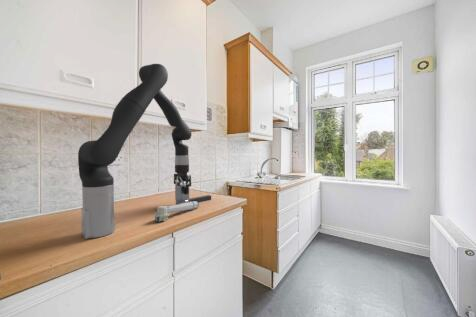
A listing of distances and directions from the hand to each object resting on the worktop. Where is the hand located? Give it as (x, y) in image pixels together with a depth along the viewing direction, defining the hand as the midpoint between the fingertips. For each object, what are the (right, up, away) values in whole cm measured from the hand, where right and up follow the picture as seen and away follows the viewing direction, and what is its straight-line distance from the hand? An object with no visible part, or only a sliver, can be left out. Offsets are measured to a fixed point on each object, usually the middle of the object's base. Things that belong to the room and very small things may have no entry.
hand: (182, 193), depth 110 cm
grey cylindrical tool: (+3, -8, -16) cm, 18 cm away
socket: (0, -4, 0) cm, 4 cm away
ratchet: (+5, -6, +6) cm, 10 cm away
